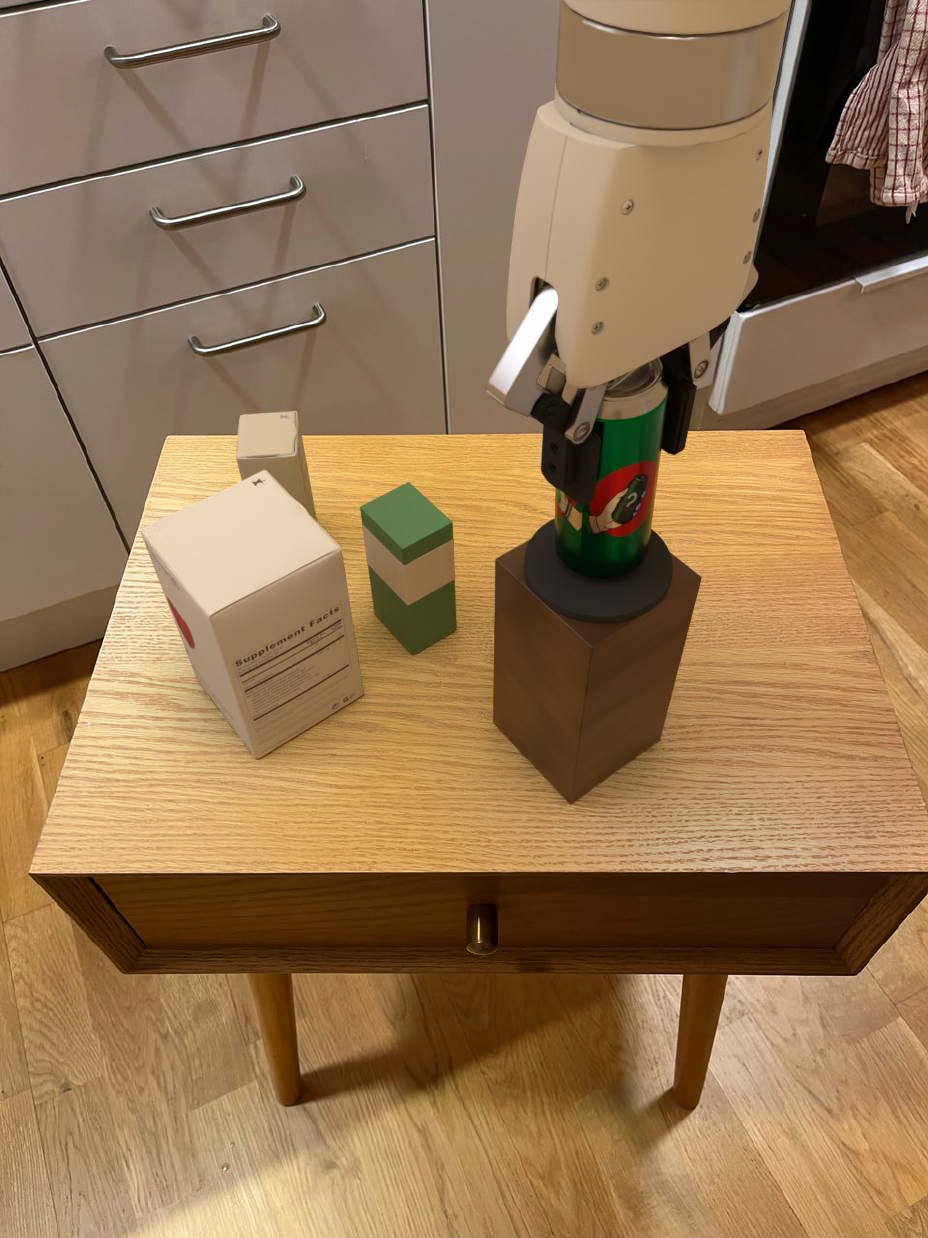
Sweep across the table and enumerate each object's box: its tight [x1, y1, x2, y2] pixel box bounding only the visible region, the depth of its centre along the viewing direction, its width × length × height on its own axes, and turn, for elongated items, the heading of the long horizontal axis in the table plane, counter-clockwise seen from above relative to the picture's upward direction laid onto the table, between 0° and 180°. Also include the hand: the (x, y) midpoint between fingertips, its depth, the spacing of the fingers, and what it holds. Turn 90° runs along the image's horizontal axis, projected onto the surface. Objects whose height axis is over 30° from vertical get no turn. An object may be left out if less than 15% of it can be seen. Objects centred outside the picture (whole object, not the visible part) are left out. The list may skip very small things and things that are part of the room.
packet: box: [359, 481, 458, 656], centre depth 67 cm, size 11×5×4 cm
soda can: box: [554, 357, 669, 579], centre depth 48 cm, size 5×5×12 cm
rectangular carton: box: [139, 470, 365, 760], centre depth 62 cm, size 9×9×15 cm
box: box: [235, 410, 318, 523], centre depth 73 cm, size 5×4×11 cm
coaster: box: [524, 517, 673, 623], centre depth 52 cm, size 8×8×1 cm
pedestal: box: [492, 539, 703, 805], centre depth 59 cm, size 8×8×16 cm
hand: (612, 460), depth 47 cm, fingers closed on soda can, 5 cm apart
